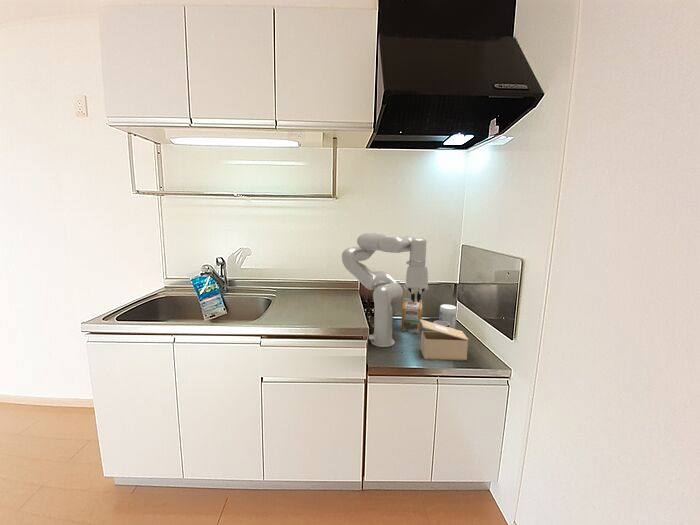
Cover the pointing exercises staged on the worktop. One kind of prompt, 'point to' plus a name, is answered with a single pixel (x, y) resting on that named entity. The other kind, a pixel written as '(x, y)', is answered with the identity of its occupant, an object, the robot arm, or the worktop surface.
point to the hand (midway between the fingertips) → (415, 301)
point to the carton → (443, 346)
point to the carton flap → (443, 329)
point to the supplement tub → (448, 314)
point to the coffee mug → (442, 323)
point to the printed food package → (411, 316)
